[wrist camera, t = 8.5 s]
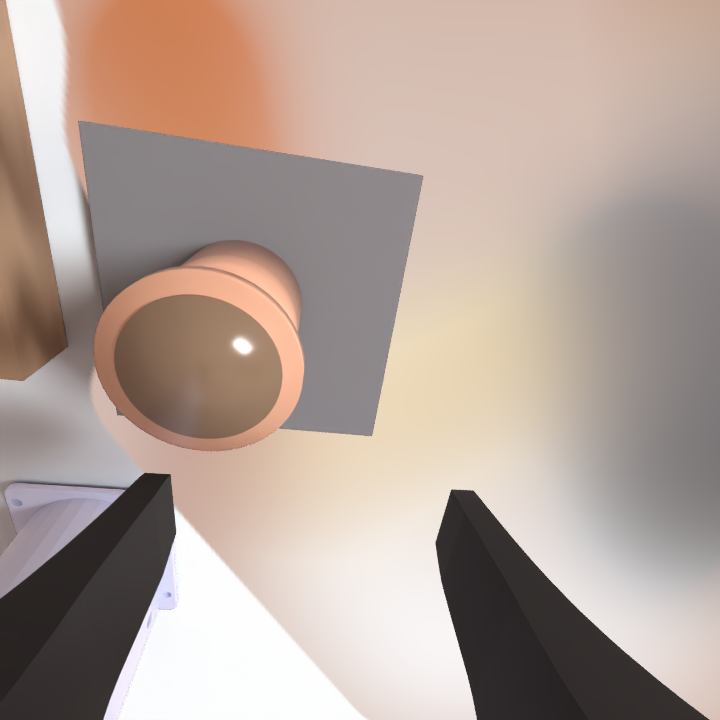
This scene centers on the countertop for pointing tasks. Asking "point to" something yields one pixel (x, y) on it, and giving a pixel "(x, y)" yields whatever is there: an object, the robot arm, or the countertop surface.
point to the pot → (206, 348)
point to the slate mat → (266, 245)
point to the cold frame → (22, 237)
